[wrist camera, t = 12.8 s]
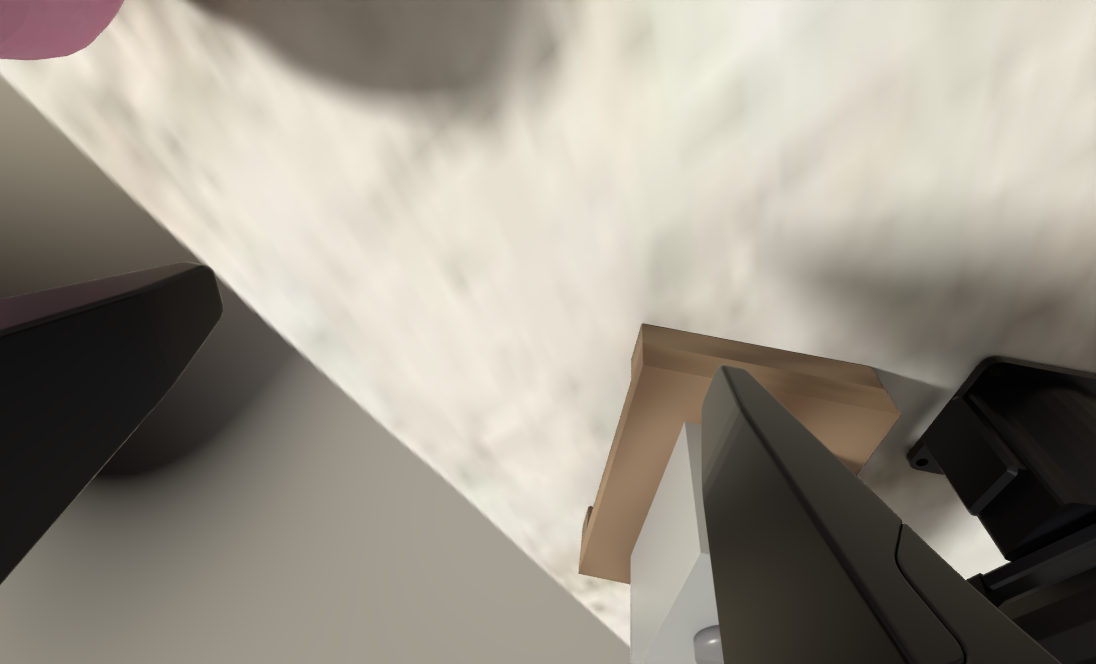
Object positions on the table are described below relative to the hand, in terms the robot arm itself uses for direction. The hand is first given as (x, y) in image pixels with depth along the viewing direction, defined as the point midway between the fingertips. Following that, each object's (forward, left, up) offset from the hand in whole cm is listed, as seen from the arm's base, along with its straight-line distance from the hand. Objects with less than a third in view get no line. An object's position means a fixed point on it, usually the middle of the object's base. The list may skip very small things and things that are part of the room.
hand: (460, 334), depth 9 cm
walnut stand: (-10, +14, -12) cm, 21 cm away
